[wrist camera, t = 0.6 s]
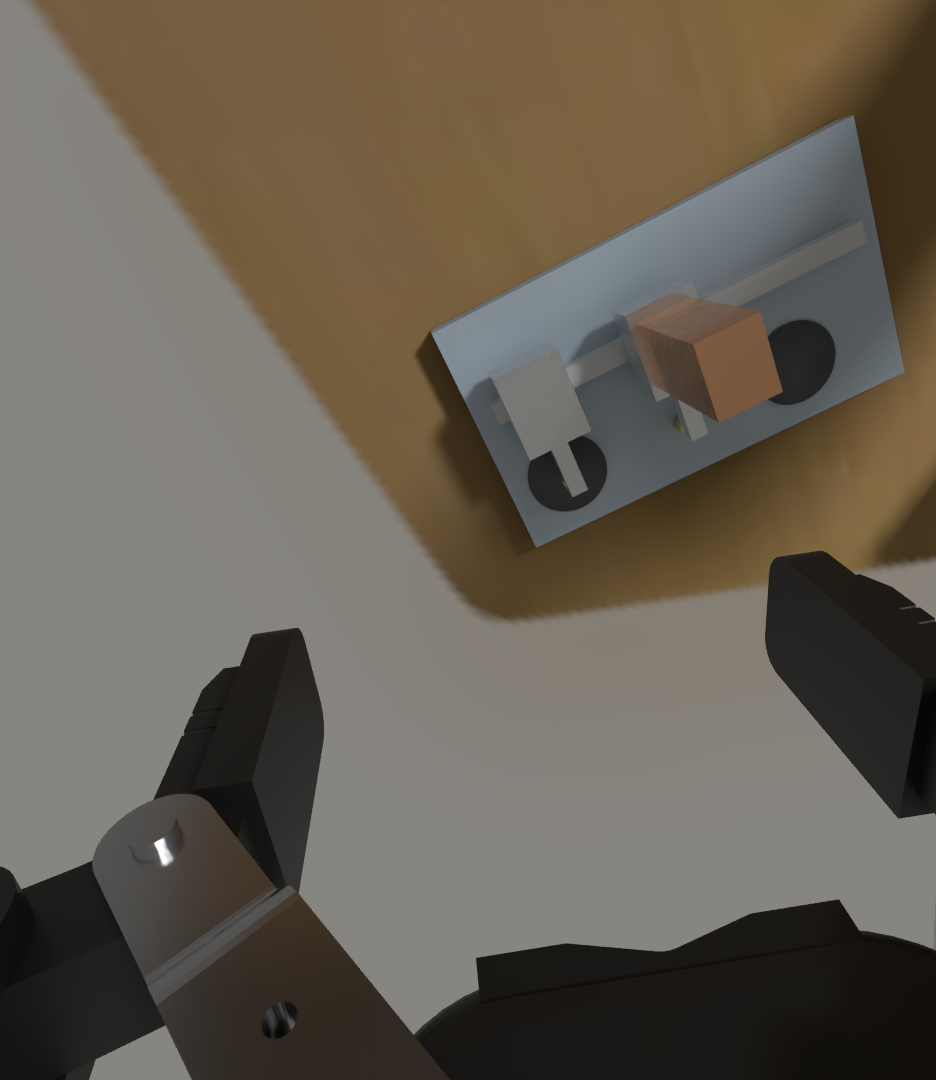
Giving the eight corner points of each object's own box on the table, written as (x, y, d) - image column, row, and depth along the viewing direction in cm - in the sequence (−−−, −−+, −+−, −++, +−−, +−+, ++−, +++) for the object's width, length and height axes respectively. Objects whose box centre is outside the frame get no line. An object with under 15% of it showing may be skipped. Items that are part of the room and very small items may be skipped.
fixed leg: (545, 339, 31) (557, 347, 29) (599, 469, 34) (614, 486, 32) (485, 370, 32) (492, 380, 29) (544, 496, 34) (555, 514, 32)
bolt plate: (836, 119, 30) (865, 112, 28) (888, 367, 35) (915, 375, 33) (430, 330, 32) (432, 336, 30) (532, 538, 37) (539, 554, 35)
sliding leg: (668, 278, 31) (764, 292, 23) (713, 415, 33) (813, 471, 25) (606, 309, 31) (680, 334, 23) (656, 443, 34) (737, 507, 26)
